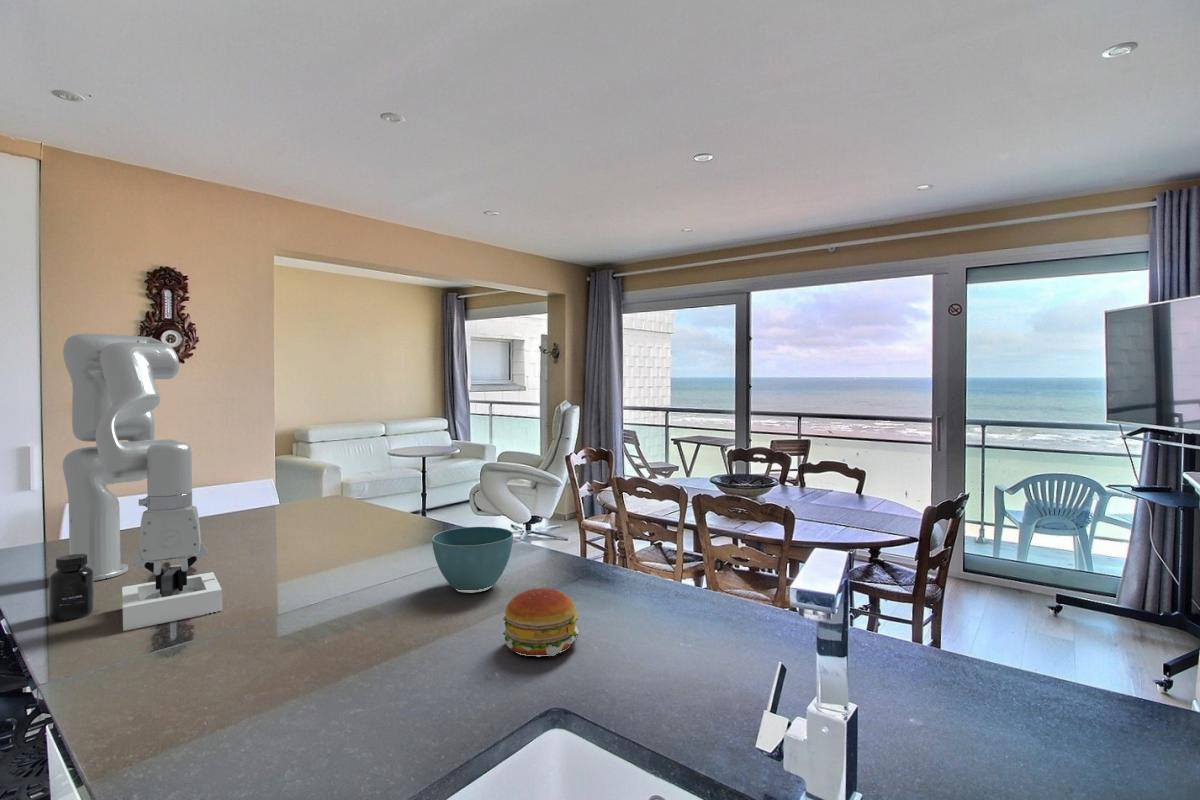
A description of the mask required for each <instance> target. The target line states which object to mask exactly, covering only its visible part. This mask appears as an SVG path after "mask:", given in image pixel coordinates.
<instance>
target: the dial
mask: <svg viewBox="0 0 1200 800" xmlns="http://www.w3.org/2000/svg"><path fill="white" fill-rule="evenodd" d="M180 566H181V564H173V565H172V564H171V565H170V566H169V569H167V570H166V571H164V572H165V573H164V574H163V575H162V576H161V588H162V594H160V592H157V593H154V594H151V595H149V596H147V597H146V598H145V600H151V599H156V598H162V597H168V596H173V595H179V594H185V593H190V592H196V591H198V590H197V589H195V588H183V591H178V571H179V568H180Z"/></svg>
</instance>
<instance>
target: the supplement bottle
mask: <svg viewBox="0 0 1200 800" xmlns="http://www.w3.org/2000/svg"><path fill="white" fill-rule="evenodd" d="M87 564H88V561H87V555H86V554H72V555H70V554H67V555H62V556H59V557H56V558H55V565H54V566H55V569H56V570H55V571H54V572H52V573H51V574H50V576H49V577H48V618H49V619H50V621H54V622H64V621H63V620H66V621H72V620H71V619H73V620H77V619H80V618H79V617H81V618H83V616H84V617H87V616H88V614H89V615H91V614H92V613H93V611H94V603H95V602H94V601H95V600H94V596H95V595H94V592H95V591H94V590H95V589H94V588H95V587H94V584H95V583H94V582H95V581H94V572H93V570H92V569H91V568H90V567H87V566H86V565H87ZM86 615H87V616H86ZM76 618H77V619H76Z"/></svg>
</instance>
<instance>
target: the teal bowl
mask: <svg viewBox="0 0 1200 800" xmlns="http://www.w3.org/2000/svg"><path fill="white" fill-rule="evenodd" d="M431 541H432V549H433V554H434V558H435V561H436V564H437V568H439V570H440V573H441V574H442V576H443V577H444V579H445V580H446V581H447V583H448V584H449V585H450V587H451V588H452V589H453V588H455V589H458V590H479V589H484V588H487V587H490V586H492V585H494V584H495V585H496V583H498V580H499V579H500V578H501V577H502V574H503V573H504V571H505V570H506V567H507V564H508V563H509V559H510V556H511V553H512V548H513V541H514V533H513V532H512V530H509V529H507V528H501V527H496V526H495V527H494V526H467V527H466V526H465V527H459V528H458V527H457V528H451V529H447V530H444V531H440V532H438V533H436V534H434V536H432V537H431ZM495 585H494V586H495Z"/></svg>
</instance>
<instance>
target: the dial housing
mask: <svg viewBox="0 0 1200 800" xmlns="http://www.w3.org/2000/svg"><path fill="white" fill-rule="evenodd" d="M183 588H195V589H197V590H198V591H196V592H190V593H185V594H179V595H173V596H168V597H162V598H156V599H151V600H145V598H146V597H147V596H149V595H151V594H154V593H157V592H160V589H158V590H156V581H151V582H145V583H139V584H131V585H126V586H122V588H121V589H122V591H121V593H122V595H121V596H122V631H123V632H126V631H130V630H136V629H140V628H146V627H150V626H155V625H159V624H160V625H162V624H166V623H170V622H175V621H179V620H184V619H190V618H196V617H200V616H205V614H206V615H210V614H209V613H211V614H214V613H213V612H216V613H218V612H217V611H221V610H222V611H223V588H222V587H221V584H220V583H219V581H218V579H217V577H216V575H215V573H214V572H213V571H212V572H206V573H199V574H193V575H187V585H184V586H183ZM222 611H221V612H222Z"/></svg>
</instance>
